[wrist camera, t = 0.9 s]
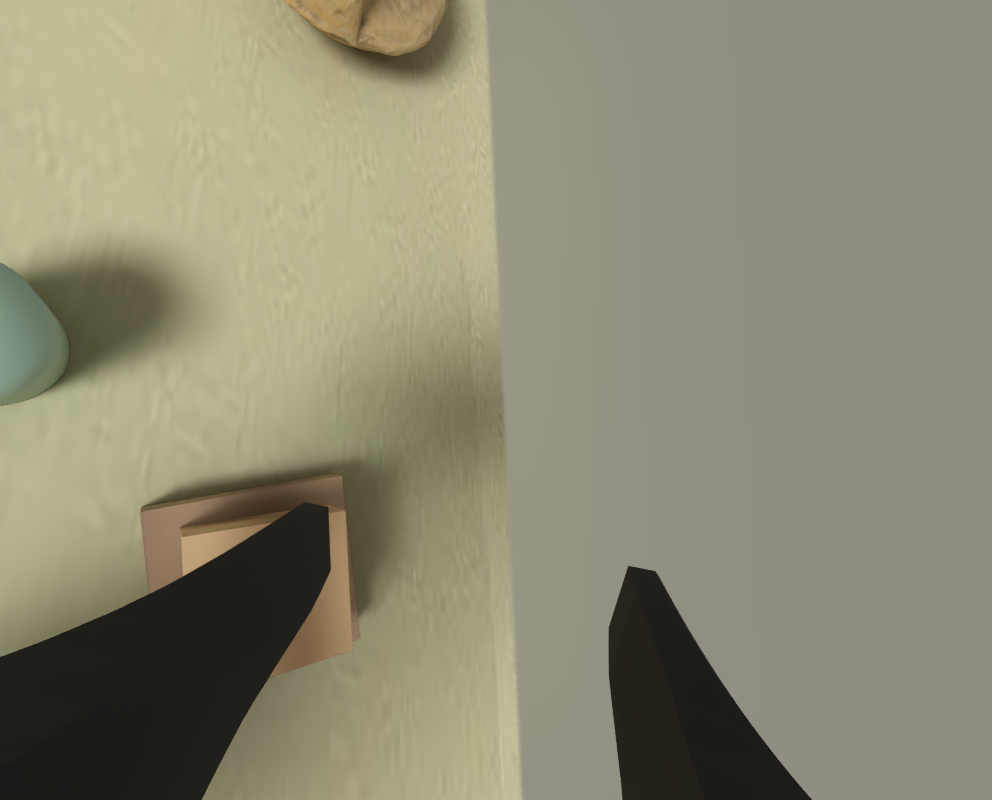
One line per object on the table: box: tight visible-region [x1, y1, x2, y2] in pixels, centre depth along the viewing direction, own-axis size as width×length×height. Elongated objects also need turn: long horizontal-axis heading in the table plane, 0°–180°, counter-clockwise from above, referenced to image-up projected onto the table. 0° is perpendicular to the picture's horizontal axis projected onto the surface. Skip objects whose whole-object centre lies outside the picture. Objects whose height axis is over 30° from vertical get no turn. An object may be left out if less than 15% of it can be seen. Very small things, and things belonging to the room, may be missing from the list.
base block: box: [140, 474, 360, 641], centre depth 22 cm, size 8×8×2 cm
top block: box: [180, 505, 353, 678], centre depth 20 cm, size 6×6×2 cm
